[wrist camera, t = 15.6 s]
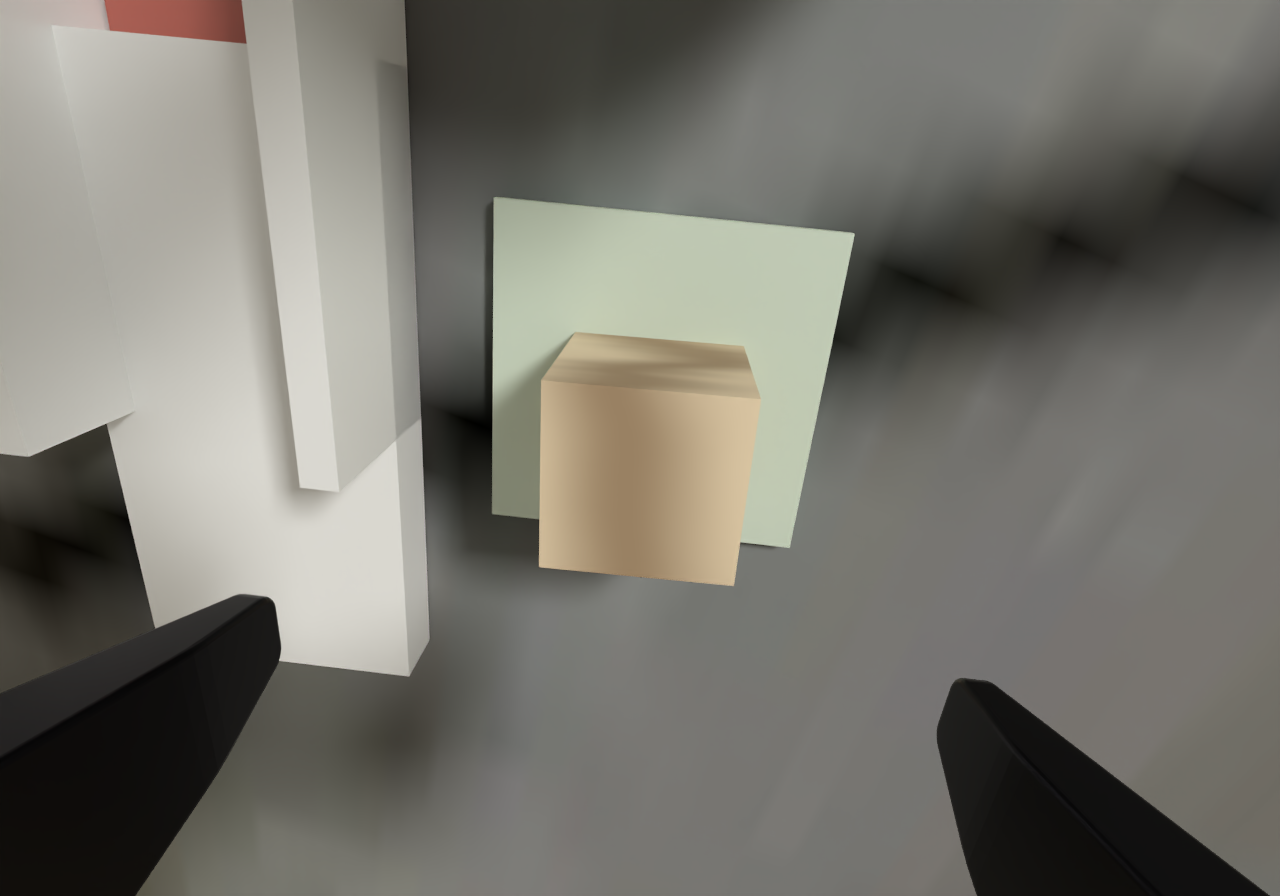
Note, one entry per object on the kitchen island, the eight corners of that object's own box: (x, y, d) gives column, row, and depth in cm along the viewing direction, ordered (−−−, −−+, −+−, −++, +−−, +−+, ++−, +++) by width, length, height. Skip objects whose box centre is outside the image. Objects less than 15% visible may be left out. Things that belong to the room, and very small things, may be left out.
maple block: (743, 345, 20) (761, 399, 15) (723, 497, 21) (733, 585, 17) (575, 331, 20) (541, 380, 15) (570, 483, 22) (539, 567, 17)
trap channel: (391, -344, 15) (233, -618, 10) (429, 639, 25) (364, 757, 20) (-3, -375, 15) (-360, -660, 10) (197, 611, 25) (75, 721, 20)
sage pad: (850, 232, 19) (854, 233, 18) (787, 540, 22) (789, 547, 22) (498, 196, 19) (493, 197, 18) (495, 507, 23) (492, 514, 22)
